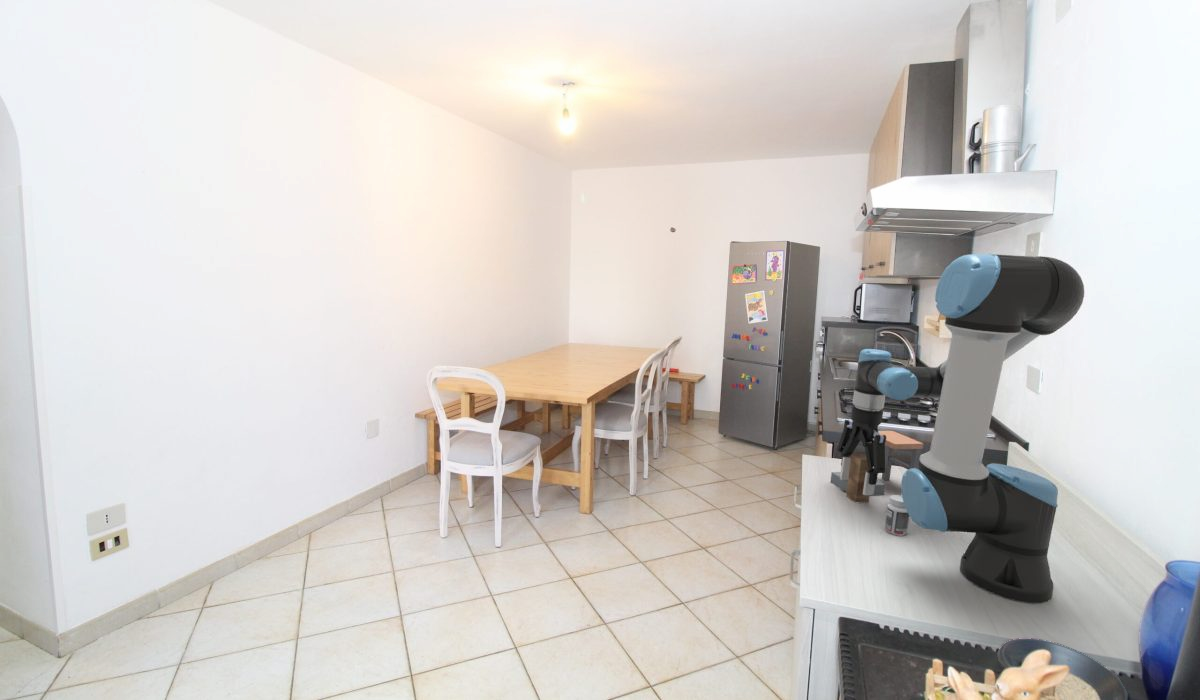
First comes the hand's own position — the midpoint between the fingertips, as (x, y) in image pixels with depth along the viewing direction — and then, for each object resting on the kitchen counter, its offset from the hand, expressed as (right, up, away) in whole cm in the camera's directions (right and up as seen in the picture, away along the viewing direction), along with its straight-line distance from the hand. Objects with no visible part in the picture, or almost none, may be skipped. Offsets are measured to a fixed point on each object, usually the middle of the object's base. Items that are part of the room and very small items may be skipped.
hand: (856, 486), depth 149 cm
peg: (0, -3, -1) cm, 3 cm away
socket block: (+4, -2, +7) cm, 8 cm away
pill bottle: (+1, -6, -19) cm, 20 cm away
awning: (+13, -2, +9) cm, 16 cm away
